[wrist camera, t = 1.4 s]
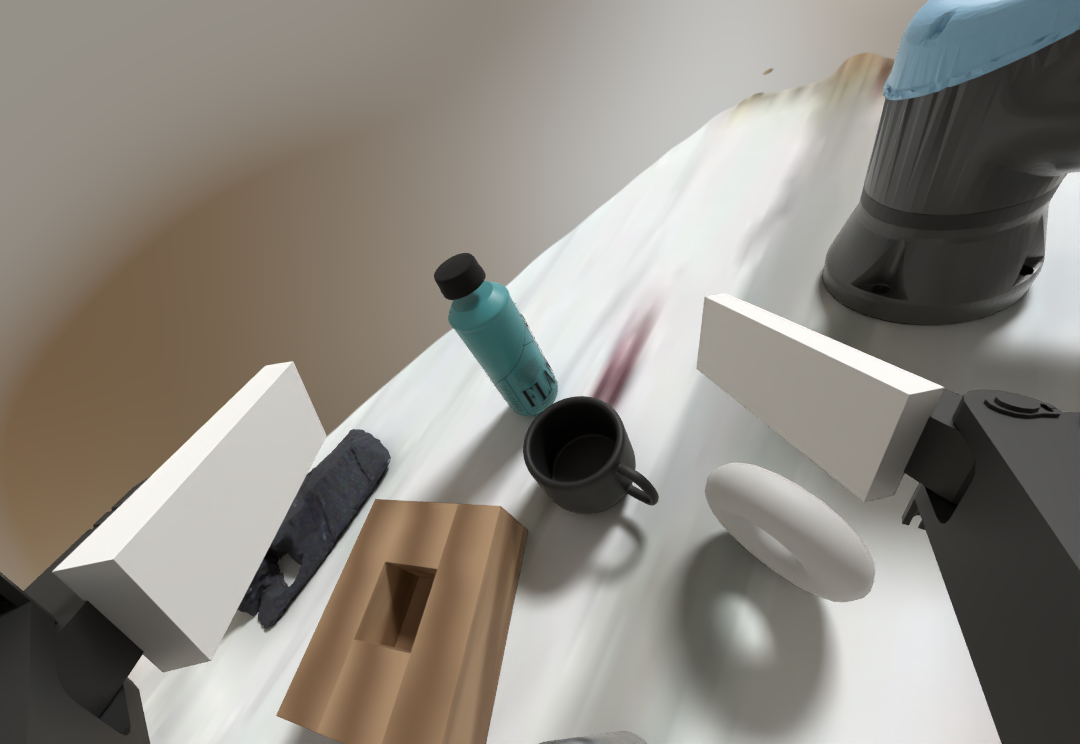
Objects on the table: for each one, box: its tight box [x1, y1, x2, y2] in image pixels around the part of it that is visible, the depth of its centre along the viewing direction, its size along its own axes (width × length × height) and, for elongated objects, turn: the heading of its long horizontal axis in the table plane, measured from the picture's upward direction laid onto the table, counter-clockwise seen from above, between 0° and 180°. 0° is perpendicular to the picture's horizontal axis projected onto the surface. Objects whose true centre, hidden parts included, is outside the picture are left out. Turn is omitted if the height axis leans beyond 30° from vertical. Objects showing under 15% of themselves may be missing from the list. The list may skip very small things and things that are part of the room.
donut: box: [705, 462, 875, 602], centre depth 24 cm, size 10×3×10 cm, turn 37°
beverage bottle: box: [434, 253, 558, 416], centre depth 39 cm, size 6×7×20 cm
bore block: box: [276, 499, 528, 744], centre depth 32 cm, size 14×16×6 cm
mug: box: [523, 396, 659, 514], centre depth 34 cm, size 12×9×7 cm
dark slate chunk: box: [238, 429, 391, 629], centre depth 46 cm, size 15×22×5 cm
